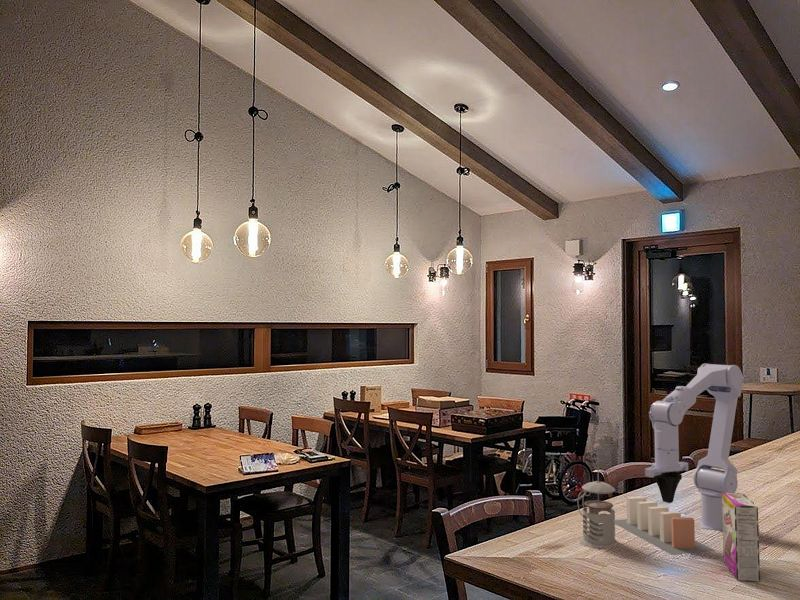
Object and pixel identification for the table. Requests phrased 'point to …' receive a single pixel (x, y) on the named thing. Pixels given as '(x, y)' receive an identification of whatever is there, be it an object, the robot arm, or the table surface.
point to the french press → (598, 516)
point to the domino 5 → (683, 532)
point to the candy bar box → (741, 536)
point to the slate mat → (656, 541)
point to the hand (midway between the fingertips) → (667, 501)
